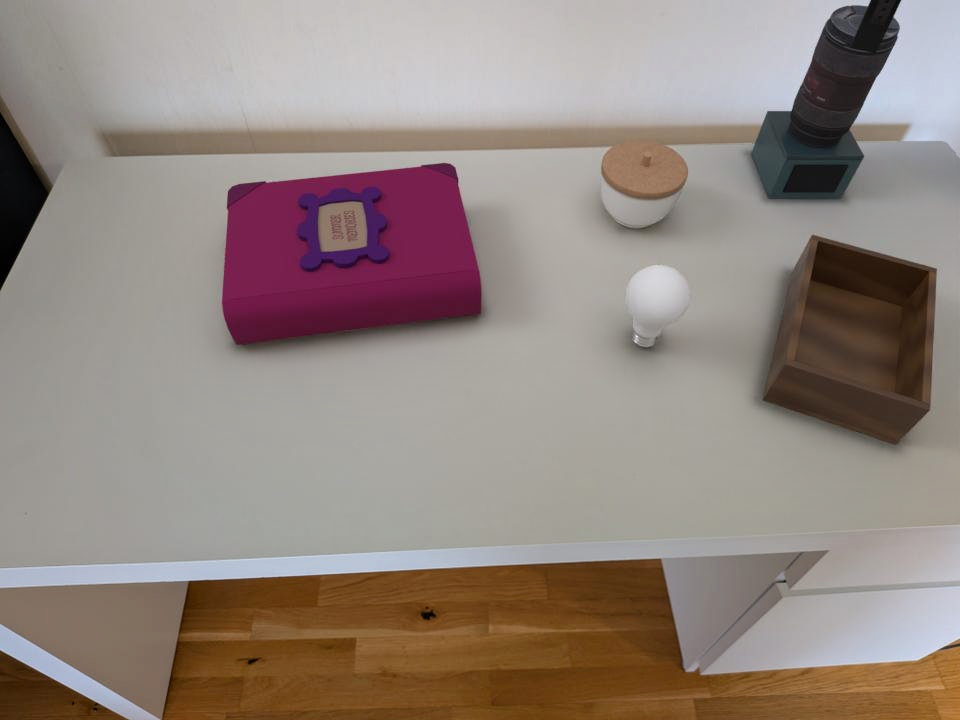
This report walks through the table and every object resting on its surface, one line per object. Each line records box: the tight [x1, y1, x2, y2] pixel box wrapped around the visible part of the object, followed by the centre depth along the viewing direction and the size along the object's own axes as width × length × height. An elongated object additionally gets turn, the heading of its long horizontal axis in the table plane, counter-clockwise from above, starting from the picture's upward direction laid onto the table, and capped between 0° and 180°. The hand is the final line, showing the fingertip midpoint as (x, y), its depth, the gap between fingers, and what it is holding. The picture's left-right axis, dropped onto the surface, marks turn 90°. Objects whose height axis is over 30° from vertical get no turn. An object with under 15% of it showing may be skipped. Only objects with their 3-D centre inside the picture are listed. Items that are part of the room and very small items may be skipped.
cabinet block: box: [750, 110, 865, 200], centre depth 93 cm, size 10×10×7 cm
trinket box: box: [599, 139, 689, 229], centre depth 87 cm, size 11×11×9 cm
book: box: [221, 162, 482, 346], centre depth 81 cm, size 21×28×8 cm
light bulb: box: [625, 264, 691, 348], centre depth 73 cm, size 7×7×11 cm
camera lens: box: [789, 4, 901, 147], centre depth 84 cm, size 8×8×15 cm
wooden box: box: [762, 234, 938, 445], centre depth 75 cm, size 21×14×7 cm, turn 156°
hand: (868, 21), depth 78 cm, fingers open, 13 cm apart
